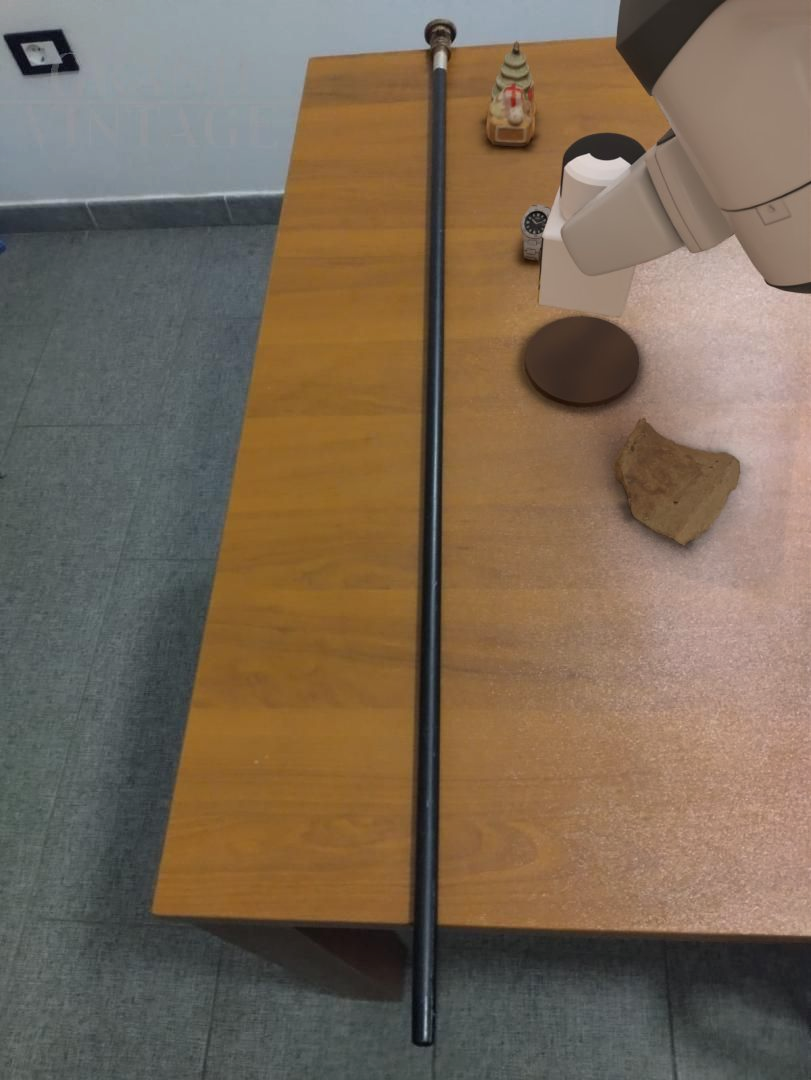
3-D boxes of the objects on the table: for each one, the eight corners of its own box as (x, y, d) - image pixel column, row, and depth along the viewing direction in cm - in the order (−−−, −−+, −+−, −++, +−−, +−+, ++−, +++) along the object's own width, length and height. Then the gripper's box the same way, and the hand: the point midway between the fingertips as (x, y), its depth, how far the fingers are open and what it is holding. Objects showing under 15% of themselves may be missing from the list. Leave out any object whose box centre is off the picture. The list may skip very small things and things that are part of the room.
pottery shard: (737, 472, 68) (644, 410, 69) (762, 452, 64) (663, 387, 65) (679, 563, 65) (583, 497, 66) (702, 549, 61) (599, 478, 62)
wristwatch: (515, 264, 81) (517, 225, 77) (528, 225, 84) (531, 186, 79) (547, 269, 80) (550, 230, 76) (559, 230, 83) (564, 190, 78)
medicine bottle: (555, 250, 66) (567, 116, 55) (637, 262, 64) (666, 125, 54) (536, 307, 63) (545, 175, 52) (622, 320, 61) (649, 186, 51)
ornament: (537, 150, 90) (543, 64, 81) (486, 153, 90) (486, 69, 81) (534, 110, 93) (539, 23, 84) (484, 113, 94) (485, 28, 85)
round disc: (647, 332, 75) (648, 326, 74) (626, 417, 70) (628, 412, 69) (539, 313, 77) (539, 307, 77) (512, 394, 73) (512, 389, 72)
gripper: (841, -12, 46) (668, 91, 58) (644, 162, 40) (497, 236, 52) (877, 86, 48) (702, 166, 60) (696, 265, 42) (543, 313, 54)
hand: (606, 200), depth 56 cm, fingers closed on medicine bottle, 6 cm apart
